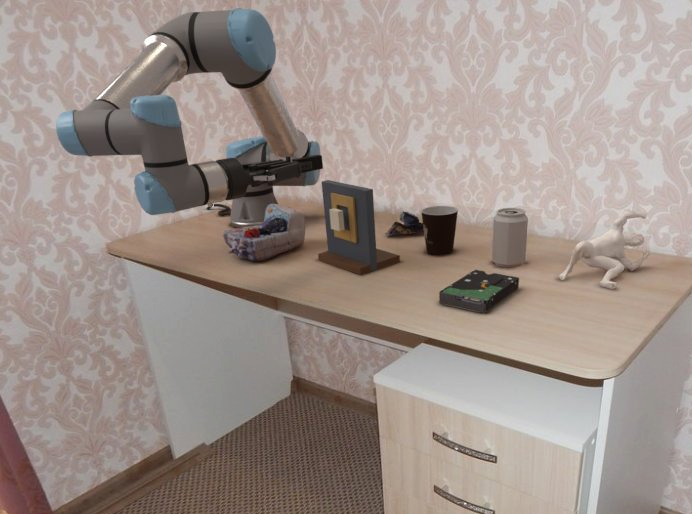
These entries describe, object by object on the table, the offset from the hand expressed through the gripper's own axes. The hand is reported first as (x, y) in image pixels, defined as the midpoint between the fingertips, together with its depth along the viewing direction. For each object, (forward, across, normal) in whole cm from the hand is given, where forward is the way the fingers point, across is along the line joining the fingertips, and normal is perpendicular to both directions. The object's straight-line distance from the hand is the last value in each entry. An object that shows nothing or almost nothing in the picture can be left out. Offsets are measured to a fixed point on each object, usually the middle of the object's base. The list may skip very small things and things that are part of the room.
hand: (320, 161), depth 132 cm
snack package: (+32, -7, -24) cm, 41 cm away
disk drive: (+10, +36, -24) cm, 45 cm away
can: (+30, +28, -24) cm, 47 cm away
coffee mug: (+27, +9, -24) cm, 37 cm away
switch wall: (+8, 0, -24) cm, 25 cm away
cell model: (-3, -23, -24) cm, 33 cm away
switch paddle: (+3, 0, -15) cm, 15 cm away
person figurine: (+38, +47, -24) cm, 65 cm away
